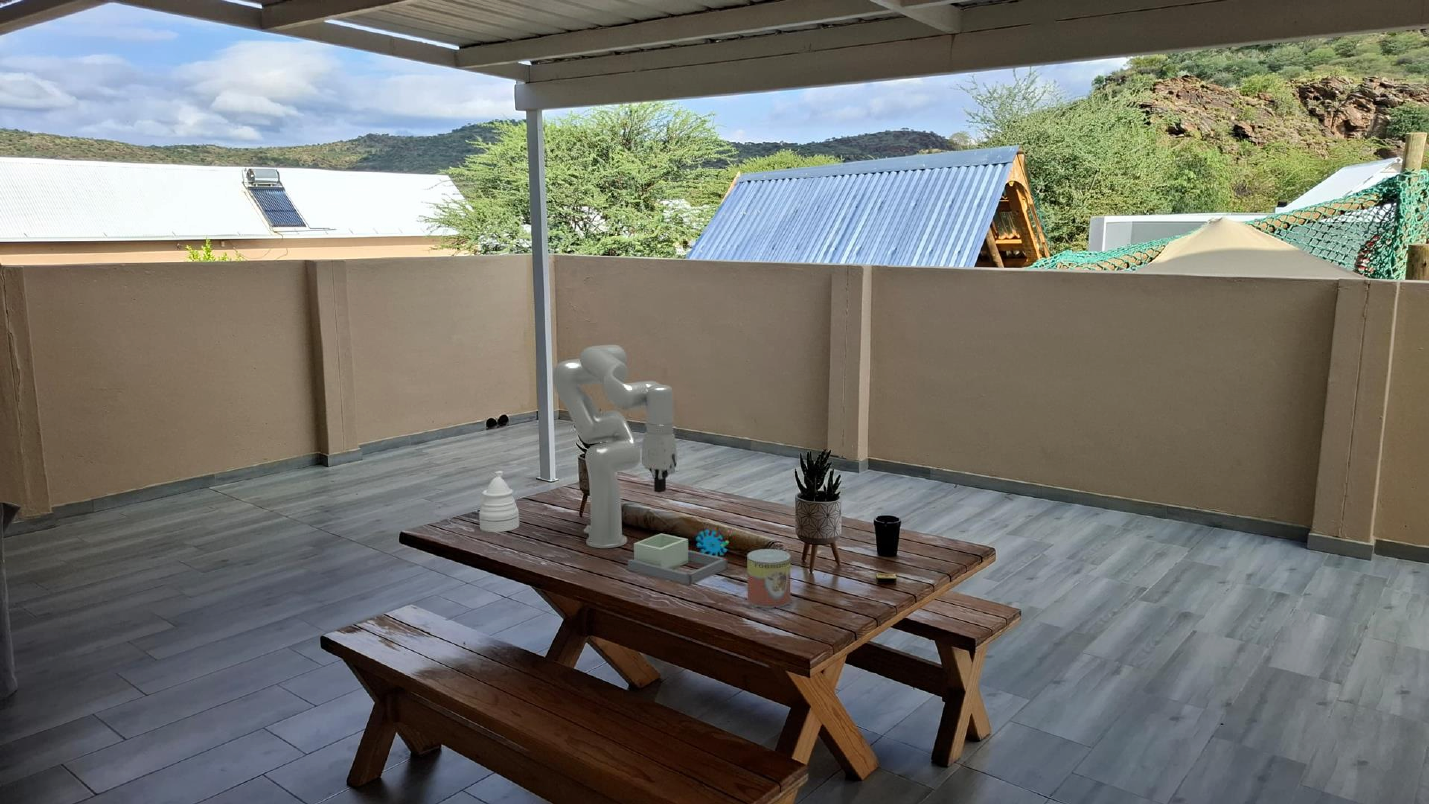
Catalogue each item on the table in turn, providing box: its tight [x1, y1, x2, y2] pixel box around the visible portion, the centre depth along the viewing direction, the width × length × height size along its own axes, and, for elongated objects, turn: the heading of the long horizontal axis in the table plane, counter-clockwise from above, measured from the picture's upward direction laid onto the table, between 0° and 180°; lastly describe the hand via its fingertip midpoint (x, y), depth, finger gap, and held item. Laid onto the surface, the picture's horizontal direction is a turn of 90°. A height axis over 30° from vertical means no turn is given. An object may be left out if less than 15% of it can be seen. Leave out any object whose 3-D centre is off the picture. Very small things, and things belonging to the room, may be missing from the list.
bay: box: [627, 549, 729, 586], centre depth 276 cm, size 22×17×4 cm
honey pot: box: [478, 470, 520, 533], centre depth 323 cm, size 13×13×18 cm
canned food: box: [746, 548, 792, 609], centre depth 254 cm, size 11×11×12 cm
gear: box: [695, 529, 730, 557], centre depth 291 cm, size 11×6×10 cm
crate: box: [633, 533, 689, 570], centre depth 279 cm, size 10×12×7 cm
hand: (660, 491), depth 281 cm, fingers closed
